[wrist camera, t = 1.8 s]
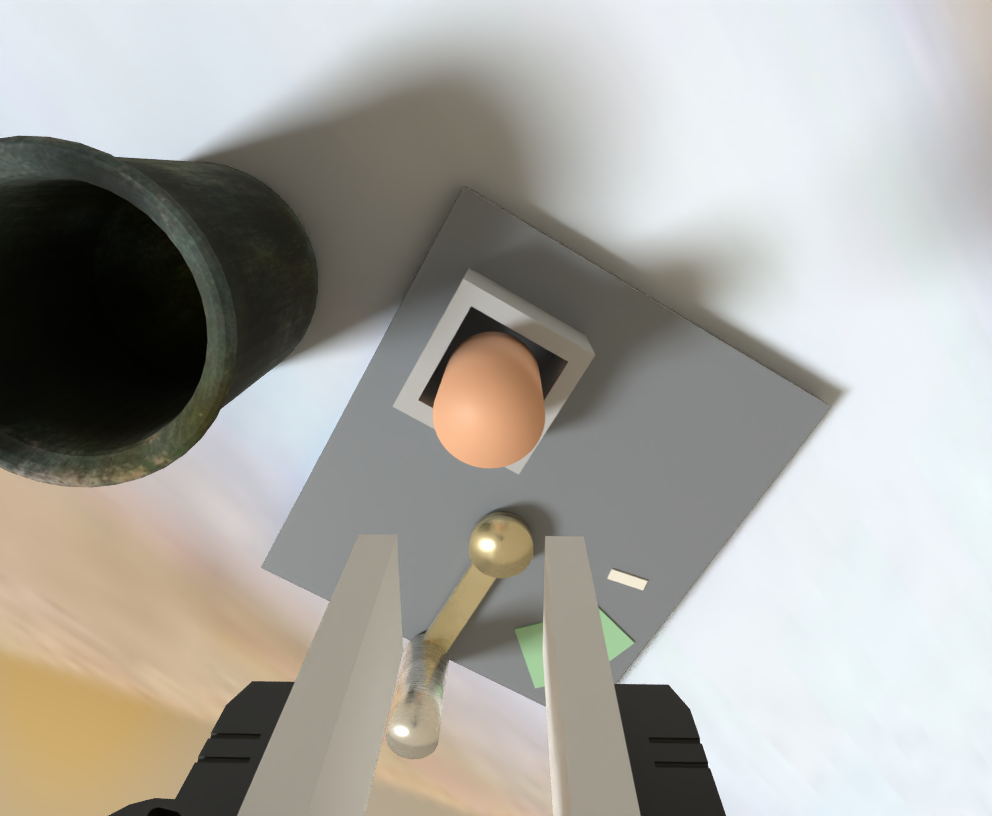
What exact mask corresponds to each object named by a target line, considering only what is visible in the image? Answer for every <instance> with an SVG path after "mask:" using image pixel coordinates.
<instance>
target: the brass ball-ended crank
mask: <svg viewBox="0 0 992 816" xmlns="http://www.w3.org/2000/svg"><path fill="white" fill-rule="evenodd" d="M469 555H470V558H471V561H472V562H471V563H470V565H469V566H468V568H467V569H466V571H465V572H464V574H463V576H462V577H461V579H460V580H459V582H458V583H457V585H456V586H455V588H454V590H453V591H452V593H451V594H450V596H449V597H448V599H447V600H446V602H445V603H444V605H443V607H442V608H441V610H440V611H439V613H438V614H437V616H436V617H435V619H434V620H433V622H432V624H431V625H430V627H429V628H428V630H427V631H426V633H425V634H423V635H418V636H416V637H414V638H413V639H411V640H410V641H409V643H408V644H407V646H406V650H405V654H404V659H403V663H402V668H401V672H400V677H399V681H398V685H397V690H396V694H395V699H394V703H393V708H392V712H391V716H390V721H389V725H388V730H387V734H386V740H387V744H388V746H389V747H390V749H391V750H392V751H393V752H394V753H396V754H397V755H399V756H401V757H404V758H407V759H420V758H424V757H426V756H428V755H430V754H431V753H432V752H433V751H434V750H435V749H436V747H437V745H438V740H439V732H440V725H441V717H442V709H443V702H444V694H445V686H446V679H447V671H448V663H449V656H450V652H449V648H450V647H451V645H452V644H453V642H454V641H455V639H456V638H457V636H458V635H459V633H460V632H461V630H462V629H463V627H464V626H465V624H466V623H467V621H468V620H469V618H470V617H471V615H472V614H473V612H474V611H475V609H476V608H477V606H478V605H479V603H480V602H481V600H482V599H483V597H484V596H485V594H486V593H487V591H488V590H489V588H490V587H491V585H492V584H493V582H494V581H495V579H496V578H509V577H513V576H515V575H517V574H519V573H521V572H522V571H524V570H525V569H526V568H527V566H528V565H529V564H530V562H531V560H532V557H533V536H532V532H531V529H530V528H529V526H528V525H527V523H526V522H525V521H524V520H523V519H521V518H520V517H518V516H517V515H514V514H512V513H508V512H494V513H491V514H488V515H486V516H484V517H482V518H481V519H480V520H478V521H477V523H476V524H475V525H474V527H473V529H472V531H471V535H470V542H469Z"/></svg>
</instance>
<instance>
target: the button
mask: <svg viewBox="0 0 992 816" xmlns="http://www.w3.org/2000/svg"><path fill="white" fill-rule="evenodd" d="M433 424H434V428H435V431H436V434H437V436H438V438H439V440H440V442H441V443H442V445H443V446H444V447H445V449H446V450H447V451H448V452H449V453H450V454H452V455H453V456H454V457H455V458H457V459H458V460H460V461H462V462H464V463H466V464H468V465H471V466H475V467H479V468H500V467H505V466H508V465H511V464H513V463H515V462H517V461H519V460H521V459H522V458H524V457H525V456H526V455H527V454H529V453H530V452H531V451H532V450H533V448H534V447H535V446H536V444H537V443H538V441H539V439H540V437H541V435H542V432H543V429H544V425H545V406H544V399H543V392H542V385H541V378H540V372H539V366H538V363H537V360H536V358H535V356H534V354H533V353H532V351H531V350H530V349H529V348H528V347H527V345H525V344H524V343H523V342H522V341H520V340H519V339H517V338H516V337H514V336H512V335H509V334H506V333H502V332H493V331H492V332H483V333H479V334H476V335H473V336H471V337H469V338H467V339H466V340H464V341H463V342H462V343H461V344H460V345H458V347H457V348H456V349H455V350H454V352H453V353H452V355H451V357H450V359H449V361H448V364H447V367H446V369H445V372H444V375H443V378H442V381H441V384H440V387H439V389H438V392H437V395H436V398H435V401H434V406H433Z"/></svg>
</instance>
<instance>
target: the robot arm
mask: <svg viewBox="0 0 992 816" xmlns="http://www.w3.org/2000/svg"><path fill="white" fill-rule="evenodd" d="M402 653H403V639H402V620H401V602H400V583H399V565H398V546H397V535H379V534H359V535H358V537H357V540H356V542H355V544H354V547H353V549H352V551H351V553H350V556H349V558H348V560H347V563H346V565H345V567H344V570H343V572H342V574H341V577H340V579H339V581H338V584H337V586H336V588H335V590H334V593H333V595H332V597H331V600H330V602H329V604H328V607H327V609H326V611H325V614H324V616H323V618H322V621H321V623H320V625H319V627H318V630H317V632H316V634H315V637H314V639H313V641H312V644H311V646H310V648H309V651H308V653H307V655H306V658H305V660H304V662H303V664H302V667H301V669H300V671H299V674H298V676H297V678H296V681H295V682H263V681H252V682H251V683H250V684H249V685H248V686H247V687H246V688H245V689H243V690H242V691H241V692H240V693H239V694H238V695H237V696H236V697H235V698H234V699H232V700H231V701H230V702H229V703H228V704H227V705H226V707H225V708H224V710H223V712H222V714H221V716H220V718H219V719H218V721H217V723H216V725H215V727H214V729H213V731H212V732H211V738H210V739H208V740H207V742H206V743H205V745H204V747H203V749H202V751H201V753H200V754H199V756H198V762H197V763H195V764H194V765H193V767H192V769H191V771H190V773H189V775H188V776H187V778H186V780H185V782H184V784H183V786H182V787H181V789H180V791H179V793H178V795H177V797H176V798H175V799H161V798H154V799H150V800H146V801H142V802H138V803H134V804H130V805H128V806H126V807H124V808H122V809H120V810H118V811H117V812H115V813H113V814H111V815H109V816H365V812H366V808H367V804H368V800H369V795H370V791H371V787H372V782H373V778H374V774H375V769H376V765H377V761H378V756H379V752H380V748H381V743H382V739H383V735H384V730H385V726H386V722H387V717H388V713H389V709H390V704H391V700H392V696H393V691H394V687H395V683H396V679H397V674H398V670H399V666H400V661H401V657H402ZM543 666H544V681H545V697H546V712H547V727H548V742H549V757H550V772H551V788H552V803H553V816H726V814H725V811H724V808H723V805H722V802H721V800H720V797H719V794H718V791H717V788H716V785H715V782H714V779H713V776H712V773H711V770H710V768H708V761H707V758H706V755H705V752H704V749H703V746H702V744H700V737H699V734H698V731H697V728H696V726H695V723H694V720H693V717H692V714H691V711H690V709H689V708H688V706H687V705H686V704H685V703H684V702H683V701H682V700H681V699H680V697H679V696H678V695H677V694H676V693H675V692H674V691H673V689H672V688H671V687H670V686H669V685H647V684H614V682H613V677H612V672H611V668H610V663H609V658H608V653H607V648H606V643H605V638H604V633H603V628H602V623H601V618H600V613H599V609H598V604H597V599H596V594H595V589H594V584H593V579H592V574H591V569H590V564H589V559H588V554H587V550H586V545H585V540H584V536H545V568H544V611H543Z"/></svg>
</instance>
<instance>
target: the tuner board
mask: <svg viewBox="0 0 992 816" xmlns="http://www.w3.org/2000/svg"><path fill="white" fill-rule="evenodd" d="M492 331H493V332H502V333H506V334H509V335H512V336H514V337H516V338H517V339H519V340H520V341H522V342H523V343H524V344H525V345H527V347H528V348H529V349H530V350H531V351H532V353H533V354H534V356H535V358H536V360H537V363H538V366H539V372H540V378H541V385H542V392H543V399H544V406H545V425H544V429H543V432H542V435H541V437H540V439H539V441H538V443H537V444H536V446H535V447H534V448H533V450H532V451H531V452H530V453H529V454H527V455H526V456H525V457H524V458H522V459H521V460H519V461H517V462H515V463H513V464H511V465H508V466H505V467H500V468H479V467H475V466H471V465H468V464H466V463H464V462H462V461H460V460H458V459H457V458H455V457H454V456H453V455H452V454H450V453H449V452H448V451H447V450H446V449H445V447H444V446H443V445H442V443H441V442H440V440H439V438H438V436H437V434H436V431H435V428H434V424H433V406H434V401H435V398H436V395H437V392H438V389H439V387H440V384H441V381H442V378H443V375H444V372H445V369H446V367H447V364H448V361H449V359H450V357H451V355H452V353H453V352H454V350H455V349H456V348H457V347H458V345H460V344H461V343H462V342H463V341H464V340H466V339H467V338H469V337H471V336H473V335H476V334H479V333H483V332H492ZM829 409H830V406H829V405H827V404H826V403H825V402H823V401H822V400H820V399H819V398H817V397H815V396H814V395H812V394H810V393H809V392H807V391H805V390H804V389H802V388H800V387H799V386H797V385H795V384H794V383H792V382H790V381H789V380H787V379H785V378H784V377H782V376H780V375H779V374H777V373H775V372H774V371H772V370H770V369H769V368H767V367H765V366H764V365H762V364H760V363H759V362H757V361H755V360H754V359H752V358H750V357H749V356H747V355H745V354H744V353H742V352H740V351H739V350H737V349H735V348H734V347H732V346H730V345H729V344H727V343H725V342H724V341H722V340H720V339H719V338H717V337H715V336H714V335H712V334H710V333H709V332H707V331H705V330H704V329H702V328H700V327H699V326H697V325H695V324H694V323H692V322H690V321H689V320H687V319H685V318H684V317H682V316H680V315H679V314H677V313H675V312H674V311H672V310H670V309H669V308H667V307H665V306H664V305H662V304H660V303H659V302H657V301H655V300H654V299H652V298H650V297H649V296H647V295H645V294H644V293H642V292H640V291H639V290H637V289H635V288H634V287H632V286H630V285H629V284H627V283H625V282H624V281H622V280H620V279H619V278H617V277H615V276H614V275H612V274H610V273H609V272H607V271H605V270H604V269H602V268H600V267H599V266H597V265H595V264H594V263H592V262H590V261H589V260H587V259H585V258H584V257H582V256H580V255H579V254H577V253H575V252H574V251H572V250H570V249H569V248H567V247H565V246H564V245H562V244H560V243H559V242H557V241H555V240H554V239H552V238H550V237H549V236H547V235H545V234H544V233H542V232H540V231H539V230H537V229H535V228H534V227H532V226H530V225H529V224H527V223H525V222H524V221H522V220H520V219H519V218H517V217H515V216H514V215H512V214H510V213H509V212H507V211H505V210H504V209H502V208H500V207H499V206H497V205H495V204H494V203H492V202H490V201H489V200H487V199H485V198H484V197H482V196H480V195H479V194H477V193H475V192H474V191H472V190H470V189H469V188H467V187H465V186H464V187H463V188H462V190H461V192H460V194H459V196H458V198H457V200H456V201H455V203H454V205H453V207H452V209H451V211H450V213H449V215H448V217H447V218H446V220H445V222H444V224H443V226H442V228H441V230H440V232H439V233H438V235H437V237H436V239H435V241H434V243H433V245H432V247H431V249H430V250H429V252H428V254H427V256H426V258H425V260H424V262H423V264H422V265H421V267H420V269H419V271H418V273H417V275H416V277H415V279H414V280H413V282H412V284H411V286H410V288H409V290H408V292H407V294H406V296H405V297H404V299H403V301H402V303H401V305H400V307H399V309H398V311H397V312H396V314H395V316H394V318H393V320H392V322H391V324H390V326H389V328H388V329H387V331H386V333H385V335H384V337H383V339H382V341H381V343H380V344H379V346H378V348H377V350H376V352H375V354H374V356H373V358H372V359H371V361H370V363H369V365H368V367H367V369H366V371H365V373H364V375H363V376H362V378H361V380H360V382H359V384H358V386H357V388H356V390H355V391H354V393H353V395H352V397H351V399H350V401H349V403H348V405H347V406H346V408H345V410H344V412H343V414H342V416H341V418H340V420H339V422H338V423H337V425H336V427H335V429H334V431H333V433H332V435H331V437H330V438H329V440H328V442H327V444H326V446H325V448H324V450H323V452H322V454H321V455H320V457H319V459H318V461H317V463H316V465H315V467H314V469H313V470H312V472H311V474H310V476H309V478H308V480H307V482H306V484H305V485H304V487H303V489H302V491H301V493H300V495H299V497H298V499H297V501H296V502H295V504H294V506H293V508H292V510H291V512H290V514H289V516H288V517H287V519H286V521H285V523H284V525H283V527H282V529H281V531H280V533H279V534H278V536H277V538H276V540H275V542H274V544H273V546H272V548H271V549H270V551H269V553H268V555H267V557H266V559H265V561H264V563H263V564H262V566H261V568H263V569H265V570H267V571H269V572H271V573H273V574H275V575H277V576H279V577H281V578H283V579H285V580H287V581H289V582H291V583H293V584H295V585H297V586H299V587H301V588H304V589H306V590H308V591H310V592H312V593H314V594H316V595H318V596H320V597H322V598H324V599H326V600H328V601H330V600H331V597H332V595H333V593H334V590H335V588H336V586H337V584H338V581H339V579H340V577H341V574H342V572H343V570H344V567H345V565H346V563H347V560H348V558H349V556H350V553H351V551H352V549H353V547H354V544H355V542H356V540H357V537H358V535H359V534H379V535H397V546H398V565H399V583H400V602H401V620H402V637H404V638H406V639H408V640H411V639H413V638H414V637H416V636H418V635H423V634H425V633H426V631H427V630H428V628H429V627H430V625H431V624H432V622H433V620H434V619H435V617H436V616H437V614H438V613H439V611H440V610H441V608H442V607H443V605H444V603H445V602H446V600H447V599H448V597H449V596H450V594H451V593H452V591H453V590H454V588H455V586H456V585H457V583H458V582H459V580H460V579H461V577H462V576H463V574H464V572H465V571H466V569H467V568H468V566H469V565H470V563H471V562H472V561H471V558H470V555H469V542H470V535H471V531H472V529H473V527H474V525H475V524H476V523H477V521H478V520H480V519H481V518H482V517H484V516H486V515H488V514H491V513H494V512H508V513H512V514H514V515H517V516H518V517H520V518H521V519H523V520H524V521H525V522H526V523H527V525H528V526H529V528H530V529H531V532H532V536H533V557H532V560H531V562H530V564H529V565H528V566H527V568H526V569H525V570H524V571H522V572H521V573H519V574H517V575H515V576H513V577H509V578H496V579H495V581H494V582H493V584H492V585H491V587H490V588H489V590H488V591H487V593H486V594H485V596H484V597H483V599H482V600H481V602H480V603H479V605H478V606H477V608H476V609H475V611H474V612H473V614H472V615H471V617H470V618H469V620H468V621H467V623H466V624H465V626H464V627H463V629H462V630H461V632H460V633H459V635H458V636H457V638H456V639H455V641H454V642H453V644H452V645H451V647H450V648H449V652H450V656H449V660H451V661H453V662H455V663H457V664H459V665H461V666H463V667H466V668H468V669H470V670H472V671H474V672H476V673H478V674H480V675H482V676H484V677H486V678H488V679H490V680H492V681H494V682H496V683H498V684H500V685H502V686H505V687H507V688H509V689H511V690H513V691H515V692H517V693H519V694H521V695H523V696H525V697H527V698H529V699H531V700H533V701H535V702H537V703H539V704H541V705H543V706H546V697H545V681H544V666H543V611H544V568H545V536H584V540H585V545H586V550H587V554H588V559H589V564H590V569H591V574H592V579H593V584H594V589H595V594H596V599H597V604H598V609H599V613H600V618H601V623H602V628H603V633H604V638H605V643H606V648H607V653H608V658H609V663H610V668H611V672H612V677H613V682H614V684H616V683H617V681H618V680H619V679H620V677H621V676H622V675H623V674H624V672H625V671H626V670H627V668H628V667H629V666H630V665H631V663H632V662H633V661H634V659H635V658H636V657H637V656H638V654H639V653H640V652H641V650H642V649H643V648H644V647H645V645H646V644H647V643H648V641H649V640H650V639H651V638H652V636H653V635H654V634H655V632H656V631H657V630H658V629H659V627H660V626H661V625H662V623H663V622H664V621H665V620H666V618H667V617H668V616H669V614H670V613H671V612H672V611H673V609H674V608H675V607H676V605H677V604H678V603H679V602H680V600H681V599H682V598H683V596H684V595H685V594H686V593H687V591H688V590H689V589H690V587H691V586H692V585H693V584H694V582H695V581H696V580H697V578H698V577H699V576H700V575H701V573H702V572H703V571H704V569H705V568H706V567H707V566H708V564H709V563H710V562H711V560H712V559H713V558H714V557H715V555H716V554H717V553H718V551H719V550H720V549H721V548H722V546H723V545H724V544H725V542H726V541H727V540H728V539H729V537H730V536H731V535H732V533H733V532H734V531H735V530H736V528H737V527H738V526H739V524H740V523H741V522H742V521H743V519H744V518H745V517H746V515H747V514H748V513H749V512H750V510H751V509H752V508H753V506H754V505H755V504H756V503H757V501H758V500H759V499H760V497H761V496H762V495H763V493H764V492H765V491H766V490H767V488H768V487H769V486H770V484H771V483H772V482H773V481H774V479H775V478H776V477H777V475H778V474H779V473H780V472H781V470H782V469H783V468H784V466H785V465H786V464H787V463H788V461H789V460H790V459H791V457H792V456H793V455H794V454H795V452H796V451H797V450H798V448H799V447H800V446H801V445H802V443H803V442H804V441H805V439H806V438H807V437H808V436H809V434H810V433H811V432H812V430H813V429H814V428H815V427H816V425H817V424H818V423H819V421H820V420H821V419H822V418H823V416H824V415H825V414H826V412H827V411H828V410H829Z"/></svg>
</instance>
